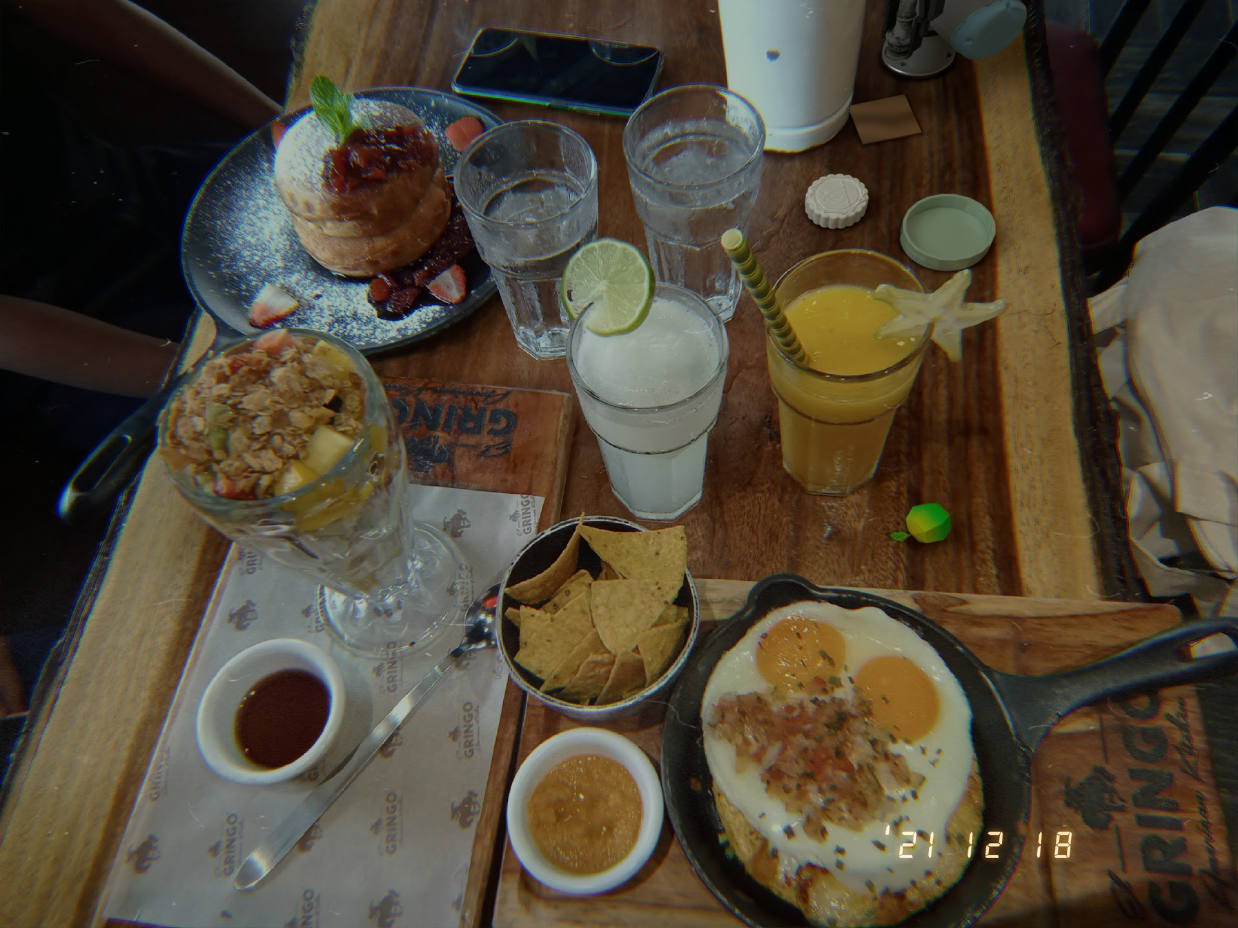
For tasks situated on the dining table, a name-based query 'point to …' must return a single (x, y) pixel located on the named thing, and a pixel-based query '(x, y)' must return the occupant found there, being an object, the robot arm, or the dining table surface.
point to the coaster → (884, 119)
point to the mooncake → (836, 201)
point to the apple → (926, 524)
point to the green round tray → (947, 232)
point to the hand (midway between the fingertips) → (900, 41)
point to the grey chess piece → (901, 32)
